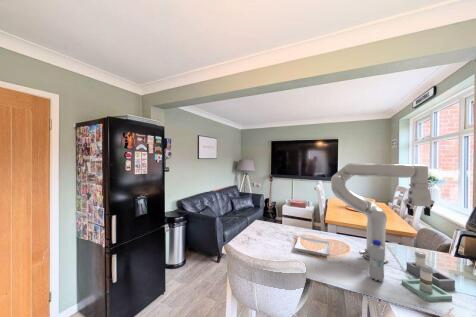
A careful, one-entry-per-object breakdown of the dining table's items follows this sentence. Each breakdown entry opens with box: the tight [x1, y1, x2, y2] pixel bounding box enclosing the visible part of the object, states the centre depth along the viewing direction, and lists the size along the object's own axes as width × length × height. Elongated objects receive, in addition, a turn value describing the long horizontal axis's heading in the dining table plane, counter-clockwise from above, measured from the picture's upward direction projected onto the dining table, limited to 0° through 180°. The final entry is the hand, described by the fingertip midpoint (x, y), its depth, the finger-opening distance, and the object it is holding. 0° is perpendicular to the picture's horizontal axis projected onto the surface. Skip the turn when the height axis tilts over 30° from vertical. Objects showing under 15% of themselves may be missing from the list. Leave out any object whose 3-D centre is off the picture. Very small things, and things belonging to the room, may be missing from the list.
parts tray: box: [401, 278, 453, 302], centre depth 91 cm, size 12×12×2 cm
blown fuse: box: [419, 264, 434, 293], centre depth 90 cm, size 4×4×11 cm
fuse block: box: [406, 261, 456, 290], centre depth 100 cm, size 17×8×4 cm, turn 4°
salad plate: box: [294, 236, 331, 257], centre depth 132 cm, size 21×21×3 cm
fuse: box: [414, 250, 427, 268], centre depth 105 cm, size 4×4×11 cm
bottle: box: [368, 240, 386, 283], centre depth 100 cm, size 7×7×20 cm
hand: (418, 215), depth 112 cm, fingers open, 9 cm apart
